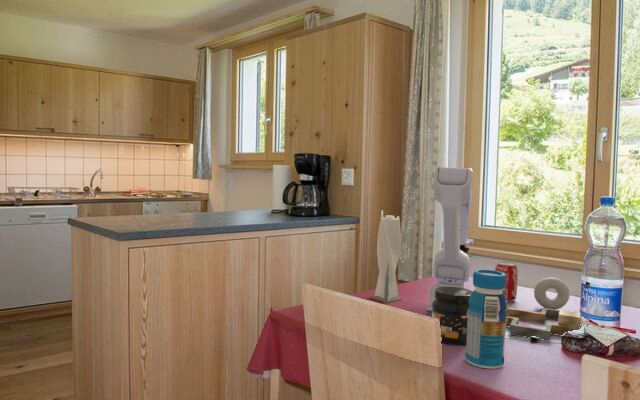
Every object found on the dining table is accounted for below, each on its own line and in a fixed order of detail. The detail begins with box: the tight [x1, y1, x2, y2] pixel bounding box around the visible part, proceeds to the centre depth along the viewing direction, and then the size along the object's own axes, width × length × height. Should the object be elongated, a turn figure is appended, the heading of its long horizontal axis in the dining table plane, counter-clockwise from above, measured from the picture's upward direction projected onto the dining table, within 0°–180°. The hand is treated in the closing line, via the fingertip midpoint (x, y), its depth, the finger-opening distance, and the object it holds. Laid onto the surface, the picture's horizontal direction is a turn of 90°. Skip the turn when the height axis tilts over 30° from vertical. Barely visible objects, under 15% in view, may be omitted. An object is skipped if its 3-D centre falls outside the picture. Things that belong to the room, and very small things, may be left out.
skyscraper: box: [370, 210, 403, 304], centre depth 160 cm, size 8×8×28 cm
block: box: [557, 309, 581, 328], centre depth 133 cm, size 5×5×5 cm
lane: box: [506, 307, 586, 341], centre depth 137 cm, size 22×23×4 cm
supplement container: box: [431, 286, 474, 346], centre depth 125 cm, size 10×10×12 cm
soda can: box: [494, 261, 519, 303], centre depth 164 cm, size 7×7×12 cm
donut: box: [533, 276, 570, 310], centre depth 154 cm, size 10×4×10 cm, turn 72°
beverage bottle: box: [464, 269, 509, 370], centre depth 109 cm, size 8×8×20 cm
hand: (456, 269), depth 161 cm, fingers closed
